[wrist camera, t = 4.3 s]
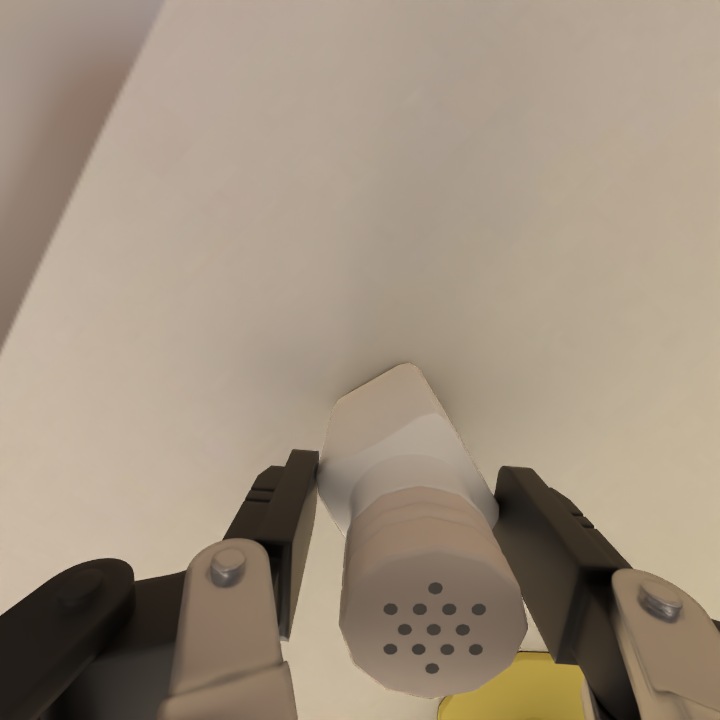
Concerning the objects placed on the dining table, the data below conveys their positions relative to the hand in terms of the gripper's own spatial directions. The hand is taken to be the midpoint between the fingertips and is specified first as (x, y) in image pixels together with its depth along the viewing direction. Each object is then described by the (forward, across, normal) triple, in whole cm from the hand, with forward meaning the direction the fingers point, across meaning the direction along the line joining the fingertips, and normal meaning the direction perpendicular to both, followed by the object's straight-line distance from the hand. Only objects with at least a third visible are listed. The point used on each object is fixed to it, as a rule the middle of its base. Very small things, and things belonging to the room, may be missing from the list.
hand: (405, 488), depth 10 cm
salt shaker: (+6, 0, 0) cm, 6 cm away
